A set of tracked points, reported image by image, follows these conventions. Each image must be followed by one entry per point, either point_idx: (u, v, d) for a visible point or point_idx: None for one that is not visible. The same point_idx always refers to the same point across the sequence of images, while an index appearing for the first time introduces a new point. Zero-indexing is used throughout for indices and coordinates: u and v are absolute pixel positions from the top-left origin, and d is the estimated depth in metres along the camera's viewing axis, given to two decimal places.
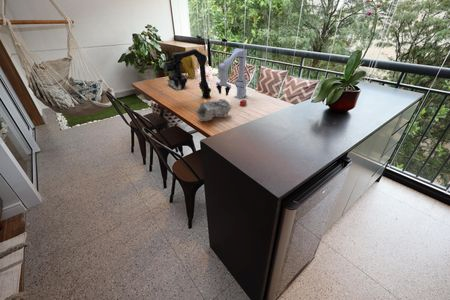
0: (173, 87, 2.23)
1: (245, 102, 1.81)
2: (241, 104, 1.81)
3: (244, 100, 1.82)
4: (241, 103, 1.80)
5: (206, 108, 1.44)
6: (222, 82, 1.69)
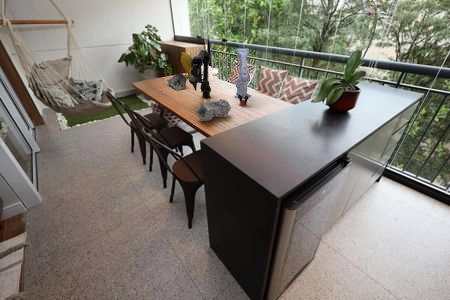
0: (173, 87, 2.23)
1: None
2: (241, 104, 1.81)
3: (244, 100, 1.82)
4: (241, 103, 1.80)
5: (206, 108, 1.44)
6: (243, 92, 1.74)
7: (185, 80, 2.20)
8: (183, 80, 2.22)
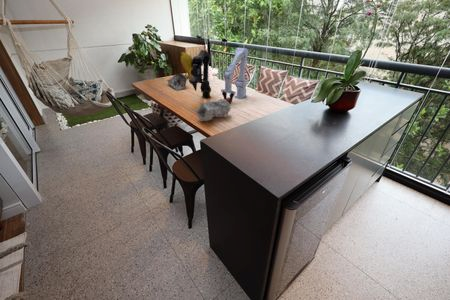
0: (173, 87, 2.23)
1: None
2: None
3: (229, 98, 1.87)
4: None
5: (206, 108, 1.44)
6: (227, 89, 1.78)
7: (185, 80, 2.20)
8: (183, 80, 2.22)
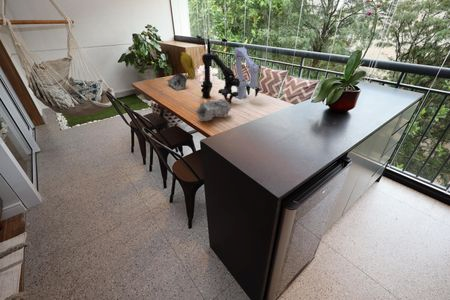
0: (173, 87, 2.23)
1: None
2: None
3: (229, 98, 1.87)
4: None
5: (206, 108, 1.44)
6: (252, 83, 1.75)
7: (185, 80, 2.20)
8: (183, 80, 2.22)
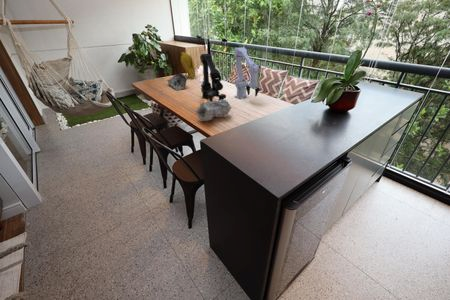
0: (173, 87, 2.23)
1: None
2: None
3: None
4: None
5: (206, 108, 1.44)
6: (252, 83, 1.75)
7: (185, 80, 2.20)
8: (183, 80, 2.22)
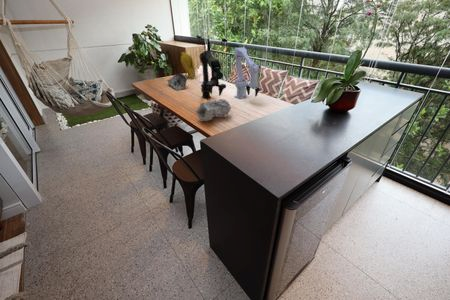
0: (173, 87, 2.23)
1: None
2: None
3: None
4: None
5: (206, 108, 1.44)
6: (252, 83, 1.75)
7: (185, 80, 2.20)
8: (183, 80, 2.22)
